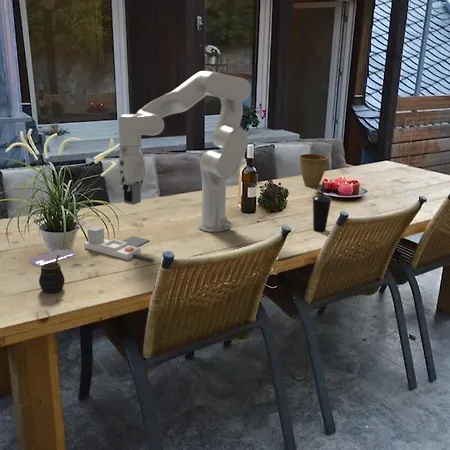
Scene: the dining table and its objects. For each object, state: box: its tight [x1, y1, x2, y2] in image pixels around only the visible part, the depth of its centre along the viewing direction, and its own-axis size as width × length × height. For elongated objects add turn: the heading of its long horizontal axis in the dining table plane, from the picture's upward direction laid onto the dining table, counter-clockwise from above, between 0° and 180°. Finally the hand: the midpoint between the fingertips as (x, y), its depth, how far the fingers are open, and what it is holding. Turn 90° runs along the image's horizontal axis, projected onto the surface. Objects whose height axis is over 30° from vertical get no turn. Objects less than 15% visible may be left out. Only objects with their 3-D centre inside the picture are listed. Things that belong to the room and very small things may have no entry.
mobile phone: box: [27, 248, 77, 267], centre depth 178 cm, size 8×1×15 cm
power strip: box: [84, 225, 155, 263], centre depth 182 cm, size 28×7×7 cm, turn 60°
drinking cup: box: [312, 182, 332, 233], centre depth 208 cm, size 8×8×20 cm
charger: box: [123, 183, 142, 206], centre depth 188 cm, size 4×4×7 cm
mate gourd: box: [38, 255, 65, 294], centre depth 154 cm, size 7×8×10 cm
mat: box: [122, 235, 150, 248], centre depth 194 cm, size 8×8×1 cm
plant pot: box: [299, 153, 329, 188], centre depth 276 cm, size 15×15×16 cm
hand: (132, 199), depth 188 cm, fingers closed on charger, 4 cm apart
